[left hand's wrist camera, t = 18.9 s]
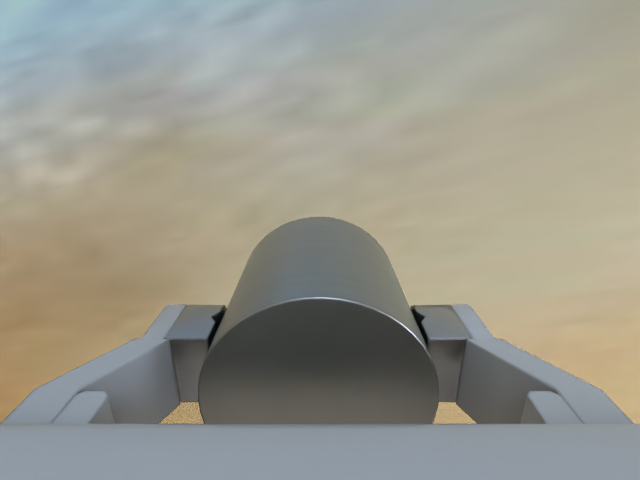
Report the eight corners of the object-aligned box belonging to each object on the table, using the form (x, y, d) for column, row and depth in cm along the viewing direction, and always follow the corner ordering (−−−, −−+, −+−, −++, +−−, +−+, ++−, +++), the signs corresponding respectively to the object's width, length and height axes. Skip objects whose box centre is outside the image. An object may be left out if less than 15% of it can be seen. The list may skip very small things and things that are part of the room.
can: (212, 285, 12) (146, 399, 8) (322, 183, 11) (325, 244, 6) (315, 374, 14) (313, 518, 9) (424, 291, 12) (488, 408, 8)
